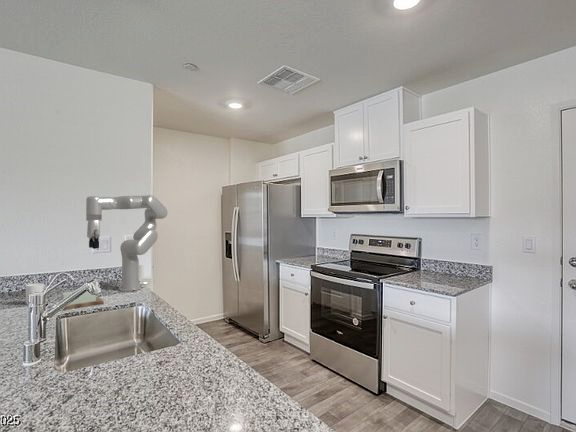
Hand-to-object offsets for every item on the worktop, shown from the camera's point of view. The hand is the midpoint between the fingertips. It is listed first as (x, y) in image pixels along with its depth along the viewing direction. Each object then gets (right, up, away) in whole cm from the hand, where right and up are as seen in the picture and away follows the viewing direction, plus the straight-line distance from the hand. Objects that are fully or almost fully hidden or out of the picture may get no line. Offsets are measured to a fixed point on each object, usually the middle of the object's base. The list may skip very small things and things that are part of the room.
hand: (93, 248), depth 181 cm
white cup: (-25, -29, -12) cm, 39 cm away
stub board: (+2, -28, -17) cm, 33 cm away
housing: (+2, -27, -16) cm, 31 cm away
